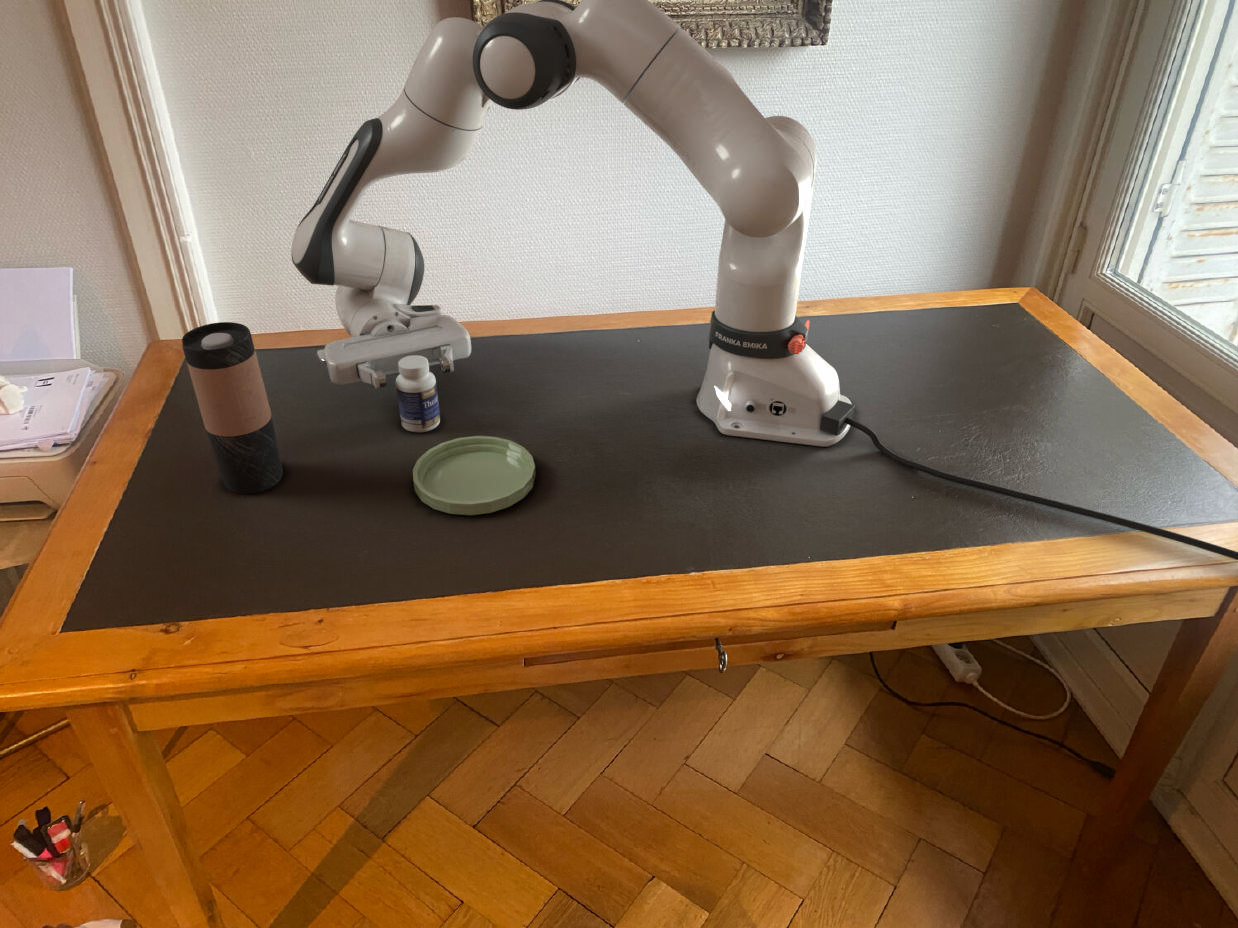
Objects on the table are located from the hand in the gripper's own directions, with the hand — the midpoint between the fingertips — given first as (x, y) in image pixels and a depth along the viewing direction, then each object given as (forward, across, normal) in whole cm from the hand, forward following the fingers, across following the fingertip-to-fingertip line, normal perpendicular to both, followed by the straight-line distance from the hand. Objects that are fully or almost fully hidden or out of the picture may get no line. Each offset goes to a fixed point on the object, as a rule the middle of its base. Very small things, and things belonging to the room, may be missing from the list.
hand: (415, 375), depth 120 cm
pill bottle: (0, 0, +8) cm, 8 cm away
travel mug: (+3, -23, +8) cm, 25 cm away
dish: (+16, +2, +8) cm, 18 cm away
